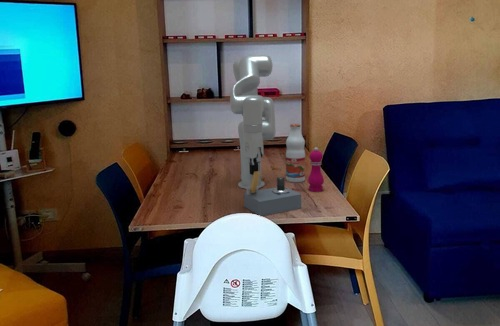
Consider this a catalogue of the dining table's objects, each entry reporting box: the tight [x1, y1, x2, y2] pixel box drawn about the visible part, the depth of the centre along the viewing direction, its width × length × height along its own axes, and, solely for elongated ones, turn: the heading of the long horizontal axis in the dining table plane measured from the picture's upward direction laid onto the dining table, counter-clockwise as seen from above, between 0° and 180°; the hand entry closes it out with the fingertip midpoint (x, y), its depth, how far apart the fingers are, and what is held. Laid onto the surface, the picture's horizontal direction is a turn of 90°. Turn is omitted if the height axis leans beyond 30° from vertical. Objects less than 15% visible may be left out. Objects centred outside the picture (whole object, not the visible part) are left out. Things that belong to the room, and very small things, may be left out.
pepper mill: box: [307, 147, 325, 193], centre depth 220 cm, size 7×7×20 cm
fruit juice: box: [285, 123, 306, 183], centre depth 236 cm, size 9×9×28 cm
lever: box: [250, 171, 260, 193], centre depth 196 cm, size 11×2×2 cm
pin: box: [273, 176, 290, 195], centre depth 200 cm, size 6×6×12 cm
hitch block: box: [243, 186, 302, 217], centre depth 199 cm, size 14×19×8 cm
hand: (254, 173), depth 195 cm, fingers closed
